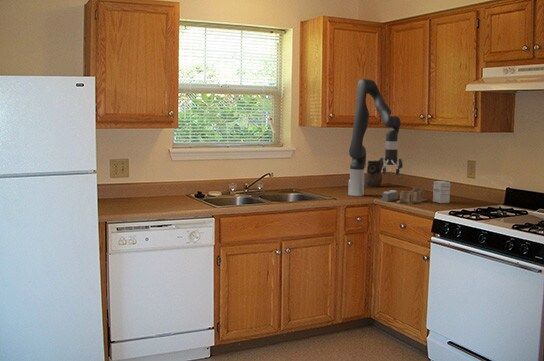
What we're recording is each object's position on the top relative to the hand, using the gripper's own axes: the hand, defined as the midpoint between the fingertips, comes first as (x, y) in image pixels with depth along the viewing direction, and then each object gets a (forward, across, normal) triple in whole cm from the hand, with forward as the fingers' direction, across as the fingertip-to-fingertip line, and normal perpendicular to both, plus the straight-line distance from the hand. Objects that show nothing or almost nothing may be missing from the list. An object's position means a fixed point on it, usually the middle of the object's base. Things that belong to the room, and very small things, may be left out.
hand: (390, 174), depth 397 cm
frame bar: (+16, 0, 0) cm, 16 cm away
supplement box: (+16, -28, -13) cm, 35 cm away
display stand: (+16, -13, -3) cm, 21 cm away
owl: (+16, +42, -56) cm, 72 cm away
